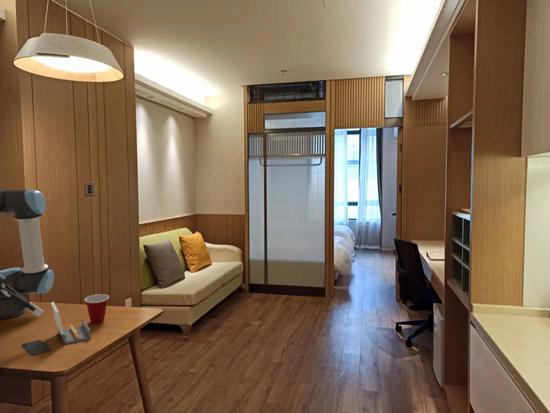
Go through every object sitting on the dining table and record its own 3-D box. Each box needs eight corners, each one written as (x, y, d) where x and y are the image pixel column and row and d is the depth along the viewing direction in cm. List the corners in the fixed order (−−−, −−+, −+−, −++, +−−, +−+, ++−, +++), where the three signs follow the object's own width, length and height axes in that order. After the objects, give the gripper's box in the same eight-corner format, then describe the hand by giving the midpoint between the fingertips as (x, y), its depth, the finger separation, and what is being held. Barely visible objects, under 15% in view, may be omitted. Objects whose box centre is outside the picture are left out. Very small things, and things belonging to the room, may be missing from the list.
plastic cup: (83, 327, 174) (83, 301, 173) (86, 319, 184) (85, 295, 183) (108, 324, 178) (108, 299, 177) (110, 316, 188) (109, 293, 187)
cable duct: (58, 332, 166) (58, 324, 166) (83, 327, 173) (83, 319, 172) (64, 344, 154) (63, 335, 154) (90, 338, 160) (90, 329, 160)
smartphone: (31, 355, 143) (20, 344, 153) (31, 357, 143) (20, 346, 153) (53, 348, 149) (40, 338, 159) (53, 351, 149) (40, 340, 159)
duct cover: (58, 322, 166) (55, 323, 166) (53, 301, 165) (50, 302, 164) (63, 333, 154) (61, 334, 153) (58, 311, 152) (55, 312, 151)
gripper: (-19, 284, 148) (32, 317, 159) (-20, 291, 138) (34, 325, 148) (-3, 269, 151) (46, 302, 162) (-3, 275, 141) (50, 310, 151)
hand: (40, 313), depth 155 cm, fingers closed
